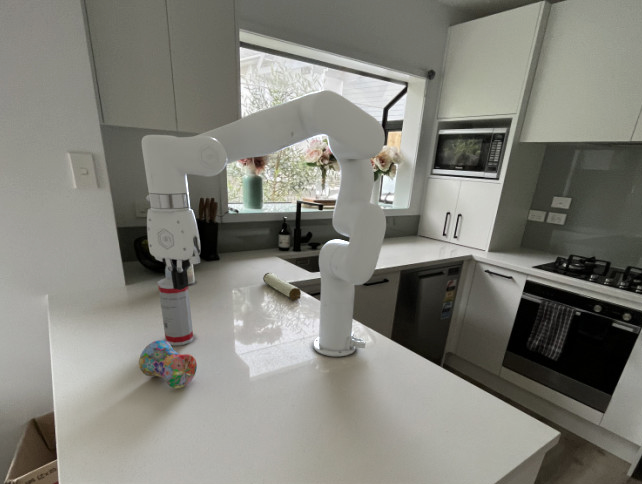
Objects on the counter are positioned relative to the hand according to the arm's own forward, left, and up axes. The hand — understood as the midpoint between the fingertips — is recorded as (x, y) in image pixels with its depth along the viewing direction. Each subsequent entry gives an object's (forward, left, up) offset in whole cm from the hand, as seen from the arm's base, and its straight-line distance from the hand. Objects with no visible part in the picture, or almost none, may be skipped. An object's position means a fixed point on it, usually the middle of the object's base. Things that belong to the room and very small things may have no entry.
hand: (181, 287), depth 84 cm
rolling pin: (+6, -72, -24) cm, 76 cm away
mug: (-2, +3, -20) cm, 21 cm away
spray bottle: (+16, -17, -24) cm, 34 cm away
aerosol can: (+48, -66, -24) cm, 85 cm away
